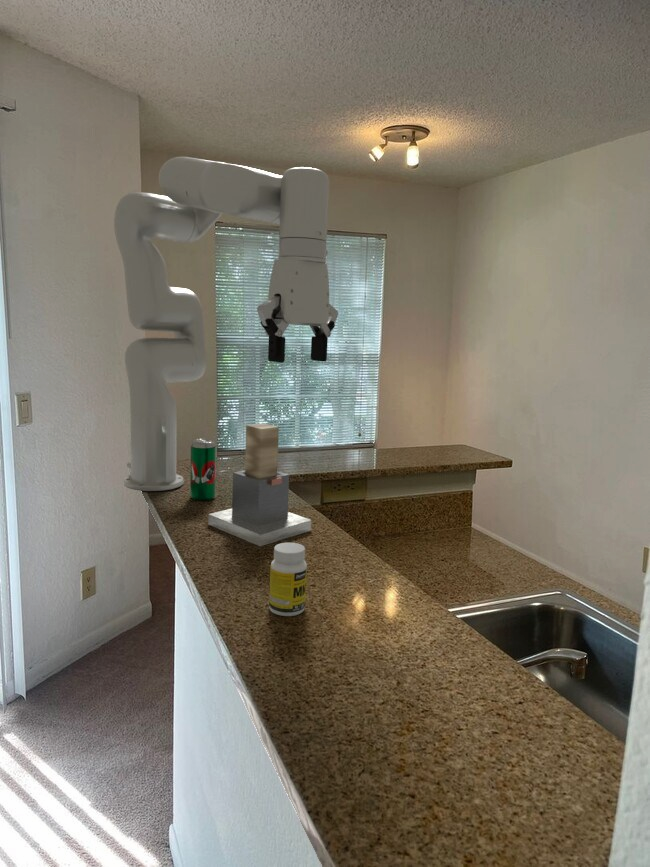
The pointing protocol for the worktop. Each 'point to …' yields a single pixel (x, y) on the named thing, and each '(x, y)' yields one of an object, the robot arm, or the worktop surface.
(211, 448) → the soda can
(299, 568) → the supplement bottle
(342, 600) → the worktop surface
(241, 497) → the stand base
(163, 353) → the robot arm
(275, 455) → the column
